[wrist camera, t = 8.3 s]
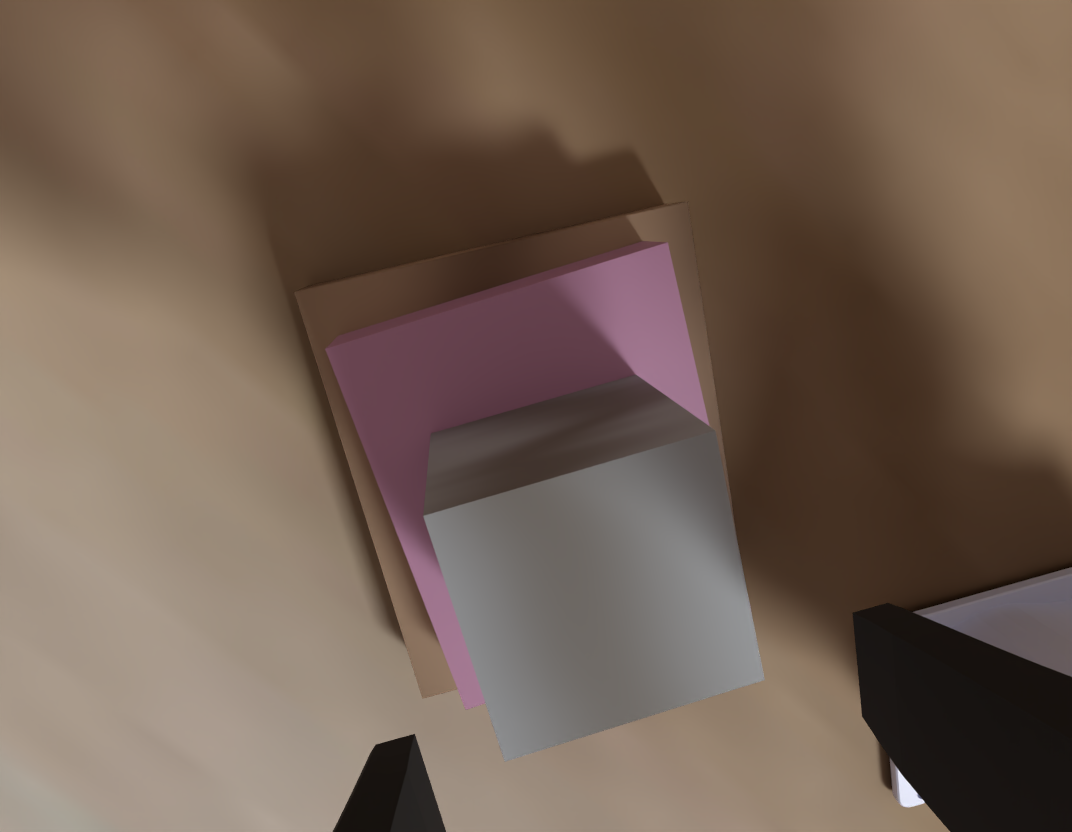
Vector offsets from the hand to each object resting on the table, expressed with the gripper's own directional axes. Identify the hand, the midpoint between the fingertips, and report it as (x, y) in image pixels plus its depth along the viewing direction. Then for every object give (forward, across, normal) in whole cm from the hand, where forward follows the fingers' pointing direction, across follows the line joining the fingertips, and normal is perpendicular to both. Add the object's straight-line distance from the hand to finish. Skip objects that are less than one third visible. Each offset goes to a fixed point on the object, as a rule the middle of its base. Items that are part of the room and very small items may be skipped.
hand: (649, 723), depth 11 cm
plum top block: (+9, 0, -1) cm, 9 cm away
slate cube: (+6, 0, -1) cm, 7 cm away
